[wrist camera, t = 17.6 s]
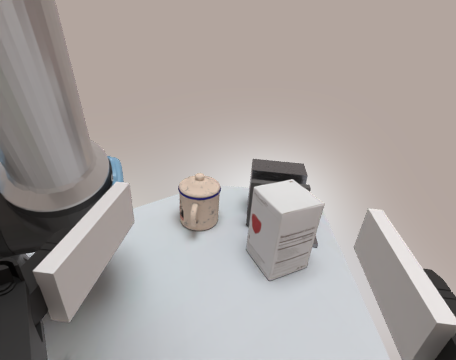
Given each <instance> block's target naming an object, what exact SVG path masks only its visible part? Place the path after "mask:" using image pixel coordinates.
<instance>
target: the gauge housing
mask: <svg viewBox="0 0 456 360" xmlns="http://www.w3.org/2000/svg"><path fill="white" fill-rule="evenodd" d="M252 179H256V180H266V181H276V182H282V181H286V180H291V179H293V180H294V181H296V182H297V183H298V184H306V180H307V173H306V170H305V166H304V164H299V163H289V162H279V161H269V160H259V159H253V162H252V171H251V179H250V188H249V196H248V206H249V197H250V189H251V180H252ZM247 214H248V207H247ZM317 246H318V243H317V239H316V236H315V239H314V242H313V246H312V247H315V248H317Z"/></svg>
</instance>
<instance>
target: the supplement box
mask: <svg viewBox="0 0 456 360" xmlns="http://www.w3.org/2000/svg"><path fill="white" fill-rule="evenodd" d="M323 208H324V203H323V202H322V201H320V200H319V199H318V198H317V197H315V196H314V195H313V194H311V193H310V192H309V191H308V190H307V189H305V188H303V187H302V186H301V185H300V184H298V183H297V182H296V181H294V180H293V179H291V180H286V181H282V182H277V183H271V184H265V185H260V186H256V187H254V190H253V198H252V206H251V214H250V222H249V230H248V238H247V246H246V250H247V251H248V253H249V254H250V256H251V257H252V258H253V260H254V261H255V263H256V264H257V265H258V267H259V268H260V269H261V271H262V272H263V274H264V275H265V276H266V278H267V279H268V280H269V281H271V280H273V279H276V278H279V277H282V276H284V275H287V274H290V273H292V272H295V271H298V270H300V269H303V268H306V267H307V264H308V260H309V256H310V253H311V249H312V246H313V242H314V239H315V235H316V232H317V228H318V225H319V221H320V218H321V214H322V211H323Z"/></svg>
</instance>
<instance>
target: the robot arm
mask: <svg viewBox="0 0 456 360" xmlns="http://www.w3.org/2000/svg"><path fill="white" fill-rule="evenodd" d="M0 162H1V163H0V360H48V359H47V351H46V343H45V335H44V328H43V323H42V320H41V319H42V318H43V317H44V315H45V314H46V313H47V311H48V313H49V315H50V318H51V320H53V321H61V322H68V323H70V321H71V320H72V318H73V317H74V315H75V314H76V312H77V310H78V309H79V307H80V306H81V304H82V303H83V301H84V300H85V298H86V297H87V295H88V293H89V292H90V290H91V289H92V287H93V286H94V284H95V283H96V281H97V279H98V278H99V276H100V275H101V273H102V272H103V270H104V269H105V267H106V266H107V264H108V262H109V261H110V259H111V258H112V256H113V255H114V253H115V252H116V250H117V249H118V247H119V245H120V244H121V242H122V241H123V239H124V238H125V236H126V235H127V233H128V231H129V230H130V228H131V227H132V225H133V224H134V215H133V207H132V199H131V191H130V183H125V182H124V181H123V172H122V166H121V163H120V160H119V159H117V158H114V157H110V156H107V155H106V153H105V151H104V150H103V149H102V147H101V146H99V145H98V144H97V143H96V142H94V141H92V140H90V138H89V134H88V130H87V126H86V122H85V118H84V114H83V110H82V106H81V102H80V98H79V94H78V90H77V86H76V82H75V78H74V74H73V70H72V66H71V62H70V58H69V54H68V51H67V46H66V42H65V38H64V34H63V30H62V26H61V23H60V18H59V14H58V10H57V6H56V2H55V0H0ZM354 249H355V252H356V254H357V256H358V259H359V261H360V263H361V266H362V268H363V270H364V273H365V275H366V277H367V280H368V282H369V284H370V287H371V289H372V291H373V293H374V296H375V298H376V301H377V303H378V305H379V308H380V310H381V312H382V315H383V317H384V319H385V321H386V324H387V326H388V328H389V331H390V333H391V335H392V338H393V340H394V342H395V345H396V347H397V349H398V352H399V354H400V356H401V359H402V360H456V297H455V295H454V294H453V292H451V290H450V288H449V287H448V286H447V284H446V283H445V281H444V280H443V279H442V278H441V277H440V276H438V275H437V274H436V273H435V272H434V271H432V270H429V269H422V267H421V266H420V264H419V263H418V262H417V260H416V258H415V257H414V255H413V254H412V252H411V251H410V249H409V248H408V246H407V245H406V244H405V242H404V241H403V239H402V238H401V236H400V235H399V233H398V232H397V230H396V229H395V228H394V226H393V224H392V223H391V221H390V220H389V219H388V217H387V216H386V214H385V213H384V211H383V210H378V209H368V210H367V213H366V215H365V218H364V221H363V224H362V227H361V229H360V232H359V235H358V237H357V240H356V243H355V245H354ZM32 252H35V253H34V254H33V255H32V256H31V257H30V258H29V257H28V256H27V255H26V253H32Z"/></svg>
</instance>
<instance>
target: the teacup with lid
mask: <svg viewBox="0 0 456 360" xmlns="http://www.w3.org/2000/svg"><path fill="white" fill-rule="evenodd" d="M178 190H179V192H180V221H181V223H182V224H183V225H184V226H185V227H186V228H188V229H191V230H197V231H201V230H207V229H210V228H212V227H213V226H214V225H215V224H216V223H217V221H218V209H219V193H220V191H221V187H220V184H219V183H218V181H216V180H215V179H213V178H211V177H208V176H204V174H202V173H197V174H196V175H195V176H191V177H188V178H185V179H184V180H182V181H181V183H180V184H179V187H178Z"/></svg>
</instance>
